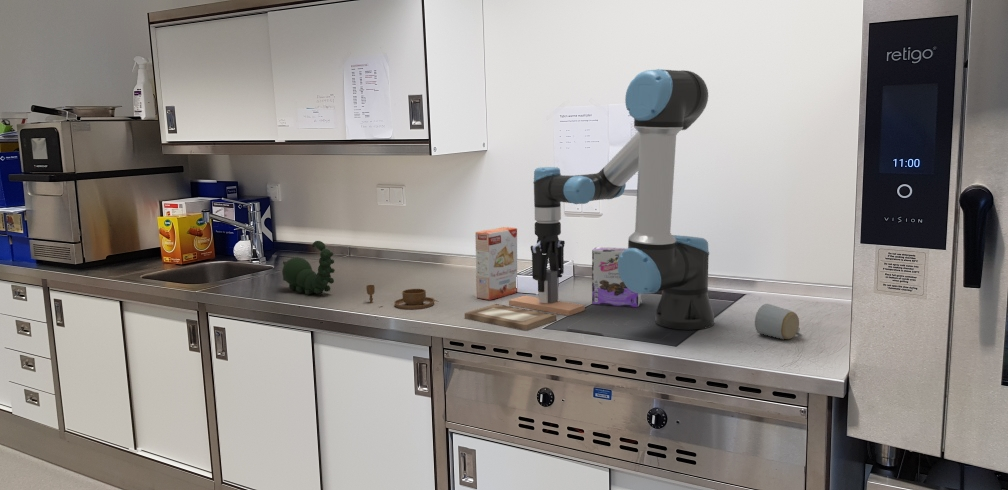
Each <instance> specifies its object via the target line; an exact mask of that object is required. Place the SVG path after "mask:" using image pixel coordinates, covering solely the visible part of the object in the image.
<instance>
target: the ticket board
mask: <svg viewBox="0 0 1008 490" xmlns="http://www.w3.org/2000/svg"><path fill="white" fill-rule="evenodd" d="M464 319H467V320H472V321H477V322H482V323H487V324H491V325H496V326H502V327H507V328H512V329H517V330H520V329H521V331H526V330H527V331H529V329H530V330H533V329H535V328H537V327H540V326H543V325H546V324H549V323H552V322H555V321H557V314H556V313H550V312H544V311H540V310H534V309H528V308H522V307H517V306H512V305H504V304H499V303H494V304H491V305H487V306H483V307H480V308H477V309H474V310H471V311H467V312H464Z"/></svg>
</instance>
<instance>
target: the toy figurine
mask: <svg viewBox="0 0 1008 490" xmlns="http://www.w3.org/2000/svg"><path fill="white" fill-rule="evenodd" d="M311 247H312V248H316V249H317V250H318V251H320V252H319V256H320V258H319V260H318V264H319V265H318V268H317V272H315V270H313V268H312V266H311V264H310V262H309V261H308V260H306V259H305V258H303V257H300V256H299V257H298V256H297V257H292V258H290V259H287V260H286V261H284V260H283V261H282V264H283V267H282V271H281V272H282V280H283V281H285V282H286V283H287V284H288V287H289V289H290V290H292V291H296V292H298V293H303V292H304V293H305V295H307V296H310V295H312V294H317V295H318V294H320V293H323V292H330V290H331V286H330V285H328V284H333V283H334V282H335V280H334V278H332V276H331V274H334V273H335V271H336V270H335V268H333V267H332V266H331V265H333V264H335V260H334V259H332V257H333V256H334V252H332V251H331V250H330V249H329V248H326V244H325V243H324V242H323V241H321V240H315V241H314V242H313V243H312V245H311Z"/></svg>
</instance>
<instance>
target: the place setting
mask: <svg viewBox="0 0 1008 490" xmlns="http://www.w3.org/2000/svg"><path fill="white" fill-rule="evenodd" d="M375 290H376V289H375V284H369V285H366V294H367V295H369V304H373V303H374V302H373V300H374V298H373V295H374V294H375V293H376V292H375ZM426 293H427V291H426V289H424V288H409V289H405V290H403V291H402V293H401V294H402V298H400V299H397V300H394V306H395V307H396V308H397V309H399V310H422V309H427V308H430V307H432V306H434V304H435V302H437V303H438V302H440V301H439V300H437V299H435V298H433V297H429V296H428V297H427V294H426ZM424 302H425V303H426V304H425V303H424ZM404 303H405V304H406V305H403V304H404ZM423 303H424V304H423ZM401 304H402V305H401ZM383 307H384V306H378V308H383Z"/></svg>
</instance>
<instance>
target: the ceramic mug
mask: <svg viewBox="0 0 1008 490" xmlns="http://www.w3.org/2000/svg"><path fill="white" fill-rule="evenodd" d="M754 327H755V330H756V332H757V333H758V334H760V335H763V334H764V335H763V336H767V335H768V337H771V336H773V337H772V338H775V337H776V339H779V338H780V340H784V339H788V340H791V339H793V338H794V337H795V336H796V335H797V334H799V333H800V330H801V328H800V318H799V316H798V314H797V313H796V312H795V311H792V310H790V309H787V308H783V307H780V306H777V305H775V304H774V305H773V304H770V303H764V304H762V305H761V306H760V307H759V308H758V310H757V312H756V314H755V317H754ZM796 333H797V334H796Z"/></svg>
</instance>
